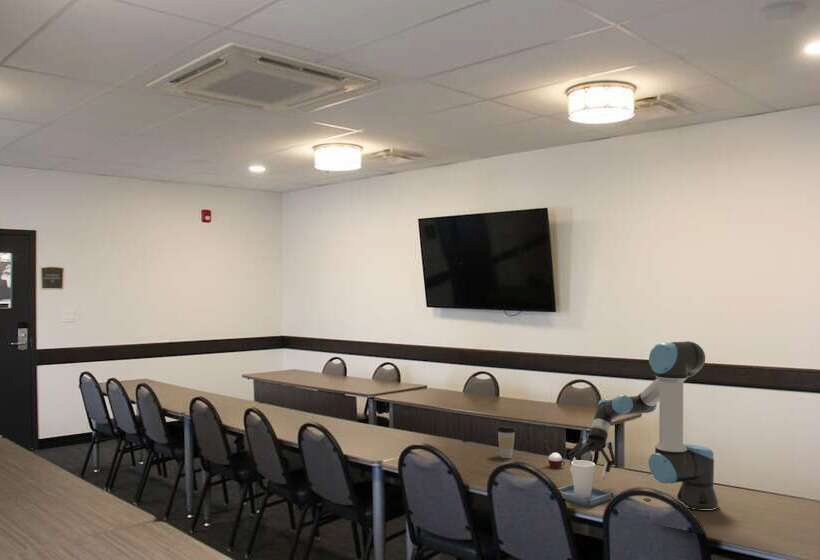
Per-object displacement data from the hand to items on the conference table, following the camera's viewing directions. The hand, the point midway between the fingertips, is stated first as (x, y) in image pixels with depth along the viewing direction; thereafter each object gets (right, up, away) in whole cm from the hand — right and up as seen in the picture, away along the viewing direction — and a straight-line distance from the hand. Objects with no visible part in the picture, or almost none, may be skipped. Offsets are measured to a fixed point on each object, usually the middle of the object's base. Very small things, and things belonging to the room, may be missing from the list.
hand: (587, 475), depth 283 cm
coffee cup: (-25, -8, +59) cm, 64 cm away
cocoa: (-5, -8, +41) cm, 42 cm away
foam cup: (-3, -7, -5) cm, 9 cm away
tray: (-3, -8, -5) cm, 10 cm away
